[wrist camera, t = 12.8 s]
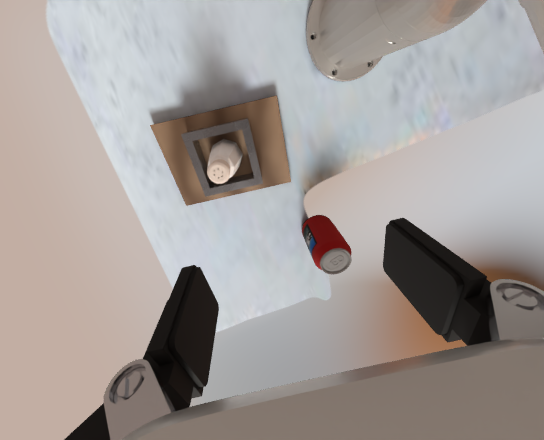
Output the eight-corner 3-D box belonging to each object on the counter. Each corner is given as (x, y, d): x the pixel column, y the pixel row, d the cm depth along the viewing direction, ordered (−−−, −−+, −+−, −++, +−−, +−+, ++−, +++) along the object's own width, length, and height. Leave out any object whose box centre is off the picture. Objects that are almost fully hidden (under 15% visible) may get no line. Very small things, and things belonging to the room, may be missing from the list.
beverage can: (294, 226, 45) (308, 262, 34) (320, 207, 43) (343, 238, 33) (312, 244, 48) (329, 283, 37) (336, 227, 46) (362, 262, 36)
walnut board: (275, 95, 33) (276, 95, 32) (289, 179, 40) (290, 181, 38) (154, 124, 33) (150, 125, 32) (188, 202, 40) (186, 205, 39)
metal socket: (247, 117, 33) (247, 118, 30) (262, 177, 38) (263, 183, 34) (187, 131, 33) (180, 134, 30) (208, 189, 38) (205, 196, 35)
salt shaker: (204, 158, 35) (187, 177, 25) (222, 131, 33) (211, 140, 24) (231, 177, 37) (224, 201, 27) (249, 152, 35) (249, 169, 26)
